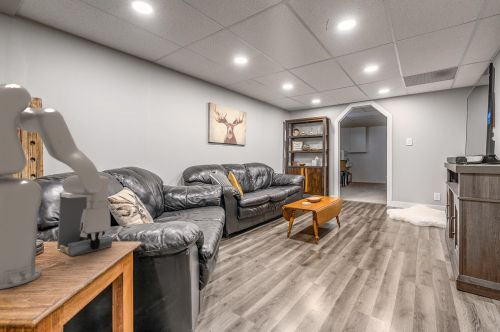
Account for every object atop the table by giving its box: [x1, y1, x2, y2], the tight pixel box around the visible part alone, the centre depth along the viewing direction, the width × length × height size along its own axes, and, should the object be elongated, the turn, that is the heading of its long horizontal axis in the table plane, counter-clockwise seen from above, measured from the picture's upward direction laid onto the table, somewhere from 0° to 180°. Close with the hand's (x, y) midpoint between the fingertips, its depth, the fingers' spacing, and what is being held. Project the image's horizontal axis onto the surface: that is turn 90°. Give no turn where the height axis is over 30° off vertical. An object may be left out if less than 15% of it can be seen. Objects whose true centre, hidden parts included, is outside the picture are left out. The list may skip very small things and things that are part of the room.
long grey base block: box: [59, 235, 113, 257], centre depth 99 cm, size 12×15×4 cm
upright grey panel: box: [57, 192, 96, 249], centre depth 102 cm, size 10×15×24 cm, turn 148°
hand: (94, 248), depth 95 cm, fingers closed
